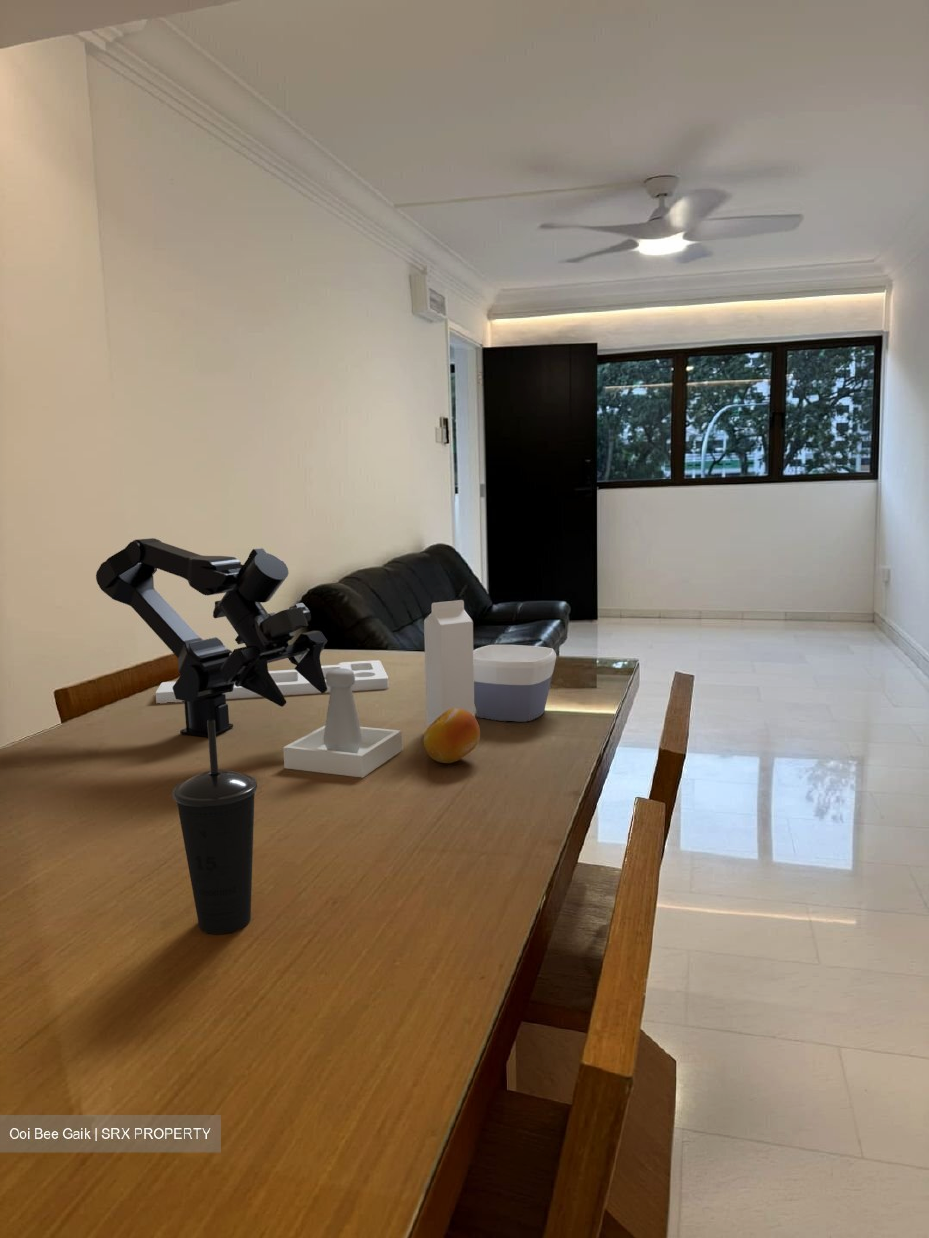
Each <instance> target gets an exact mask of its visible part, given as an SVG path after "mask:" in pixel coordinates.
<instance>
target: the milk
mask: <svg viewBox="0 0 929 1238" xmlns="http://www.w3.org/2000/svg"><path fill="white" fill-rule="evenodd" d="M423 627H424V629H423V633H424V664H425V666H424V668H425V669H424V670H425V671H424V673H425V699H426V700H425V701H426V702H425V705H426V707H425V708H426V730H427V729H428V728H429V726H430V725H431V724H432V723H433V722H434V721H435V720H436V719H437V718H438V717H440V716H441V715H442V714H443V713H445V712H446V711H447V710H450V709H454V708H458V709H463V710H465V711H468V712H469V713H471V714H472V715H473V716H474V717H475V704H474V661H473V650H474V621H473V619H472V618H471V617H470V615H469V614H468V613H467V611H466V610H465V601H464V600H463V599H459V600H450V601H449V600H448V601H439V602H432V603H431V613H430V614H429V615H428V616H426V617H425V619H424V620H423ZM475 718H476V717H475Z"/></svg>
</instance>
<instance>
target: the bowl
mask: <svg viewBox="0 0 929 1238" xmlns="http://www.w3.org/2000/svg"><path fill="white" fill-rule="evenodd" d="M556 660H557V654H556V651H555V650H554V649H553V647H551V648H550V647H545V646H535V645H523V644H522V645H519V644H518V645H517V644H489V645H485V646H481V647H478V648H476V649H473V661H474V709H475V711H476V715H477V717H478V718H479V719H483V718H486V719H485V720H489V719H492V720H491V721H496V720H500V721H499V722H506V721H518V722H517V723H528V722H527V721H529V722H531V720H532V721H534V720H536V719H538V718H539V717H541V716H542V715H543V714H544V712H545V709H546V705H547V702H548V701H547V700H548V695H549V691H550V686H551V681H552V677H553V673H554V669H555V664H556ZM535 718H536V719H535ZM533 719H534V720H533Z"/></svg>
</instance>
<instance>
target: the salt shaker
mask: <svg viewBox="0 0 929 1238" xmlns="http://www.w3.org/2000/svg"><path fill="white" fill-rule="evenodd" d="M325 680H326V683H327V686H329V687H331V689H330V692H329V697H328V698H329V699H328V706H327V712H326V719H325V724H324V726H325V732H324V743H325V746H326V748H327V750H330V751H339V752H349V753H358V750H359V748H360V745H361V742H362V734H361V729H360V727H361V725H360V720H359V716H358V711H357V708H356V702H355V698H354V693H353V691H352V688H351V686H352V685H353V684H354V683H355V676H354V673H353V671H352V670H349V669H344V668H339V669H333V670H330V671H329V672H328V673H327V674H326V678H325Z"/></svg>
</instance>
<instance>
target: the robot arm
mask: <svg viewBox="0 0 929 1238" xmlns="http://www.w3.org/2000/svg"><path fill="white" fill-rule="evenodd" d="M158 570H161V571H164V572H166V573H168V574H171V575H175V576H177V577H179V578H183V579H185V581H187V583H188V584H189V586H190V587H191V588H192V589H194V590H195V591H197V592H198V593H200V594H202V595H203V596H213V595H219V594H224V595H223V597H221V599H220V600H216V601H214V609H213V612H212V617H213V618H214V619H219V618H226V620H227V621H228V622H229V624H230V625H231V626H232V628H233V629H234V631H235V632H236V633H237V636H236V638H235V639H234V641H235V642H236V643H237V645H243V644H244V646H242V647H238V648H234V649H233V650H231V649H229V648H227V647H226V646H225V645H224V643H223V642H222V640H221V639H220V638H218V637H216V636H215V637H211V638H206V639H203V638H201V637H200V636H199V635H198V634H197V633H196V632H195V631H194V629H192V627H191V626H190V625H189V624H188V623H187V622H186V621H185V620H184V619H183V617H182V616H180V614H179V613H178V612H177V611H176V610H175V609H174V608H173V607H172V606H171V605H170V604H169V602H167V600H165V598H163V596H162V595H161V594H160V593H159V592H158V591H157V590H156V589H155V585H154V583H155V582H154V575H155V574H156V572H157V571H158ZM288 576H289V568H288V566H287V564H286V563H285V562H284V561H283V560H281V559H280V558H278V557H277V556H275V555H273V554H271V553H269V552H268V553H267V552H266V551H265V549H264V548H263V547H261V548H252V550H251V552H250V553H249V555H248V557H247V559H246V560H245V562H244V563H243V564H242V562H241V561H240V560H239V559H238V558H236V557H235V556H228V555H227V556H226V555H201V554H199V553H196V552H192V551H189V550H187V549H184V548H180V547H177V546H174V545H171V544H168V543H166V542H163V541H162V540H159V539H157V538H156V537H155V538H139V539H134V540H132V541H130V542H129V543H128V544H127V546H125V547H124V548H123V549H121V550H120V551H118V552H115V553H114V554H112V555H111V556H109V557H108V558H107V559H106V560H105V561H103V562H102V563H101V564H100V566H98V569H97V570H96V573H95V580H96V583H97V585H98V587H99V588H100V590H101V591H102V593H104V594H106V596H108V597H109V598H111V600H113V601H115V602H119V603H122V604H125V605H127V606H130V608H132V609H133V610H134V612H136V613H137V615H138V616H140V618H141V619H142V620H143V621H144V622H145V623H146V625H147V626H148V627H149V628H150V629H151V630H152V631H153V632H154V633H155V635H156V636H157V637H158V638H159V639H160V640H161V641H162V642H163V643H164V645H166V647H167V648H168V649H169V650H170V651H171V652H172V653H173V654H174V656H175V657H176V658H177V663H178V664H177V667H178V668H177V669H178V673H179V677H178V678H177V680H176V683H175V684H174V686H173V691H174V695H175V698H176V699H178V700H183V701H184V702H183V703H184V717H185V727H184V728H183V729H180V730H179V732H180V734H181V735H184V734H185V735H191V736H199V737H200V736H201V737H208V725H207V721H208V720H215V731H216V735H218V734H221V733H223V732H226V731H227V730H229V729H231V728H234V723H230V716H229V705H228V703H227V699H226V695H225V694H223V693H227V692H232V691H233V688H234V683H235V685H236V686H237V687H239V686H241V687H243V688H246V689H248V690H250V691H252V692H254V693H257V694H259V695H260V696H262V697H261V698H265V699H266V700H268V701H271V702H272V703H273V704H276V705H277V706H279V707H282V708H283V707H284V706H286V704H287V700H286V698H285V695H283V694H282V693H281V691H280V689H279V688H278V686H277V685H276V683H275V682H274V680H273V679H272V677H271V675H270V674H269V672H268V671H269V668H268V667H269V666H268V664H269V663H273V662H278V661H281V660H285V659H288V660H289V662H290V663H291V664H293V665H294V666H295V667H294V668H293V670H296V671H297V672H299V673H300V674H301V675H302V676H303V677H304V678H305V679H306V680H307V681H308V682H310V683H311V684H312V685H313V686H314V687H315V688H316V689H317V690H319V691H320V692H321V693H320V694H326V693H325V692H326V691H327V686H326V682H325V680H326V678H324V675H323V671H322V668H321V666H322V664H321V652H322V651H323V650H324V649H325V645H326V644H327V642H328V639H327V638H326V637H325V635H324V634H323V632H322V631H320V630H311V631H307V632H303V633H302V632H301V633H300V634H299V636H298V637H297V638H296V639H295V640H294V642H293V643H291V644H289V641H291V640H292V639H293V638H294V637H295V634H294V632H296V631H298V630H300V629H302V628H306V627H308V626H309V624H308V622H310V621H311V620H312V615H311V611H310V610H309V608H308V607H307V606H306V605H305V604H304V602H300V603H295V604H294V605H292V606H289V608H288V609H283V610H280V611H277V612H276V613H275V612H270V613H268V612H267V609H265V608H264V606H263V605H262V603H267V602H269V601H271V599H272V598H273V596H274V595H275V594H276V592H277V591H278V590H279V588H280V587H281V585H282V584H283V582H285V580H286V579H287V578H288Z"/></svg>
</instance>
